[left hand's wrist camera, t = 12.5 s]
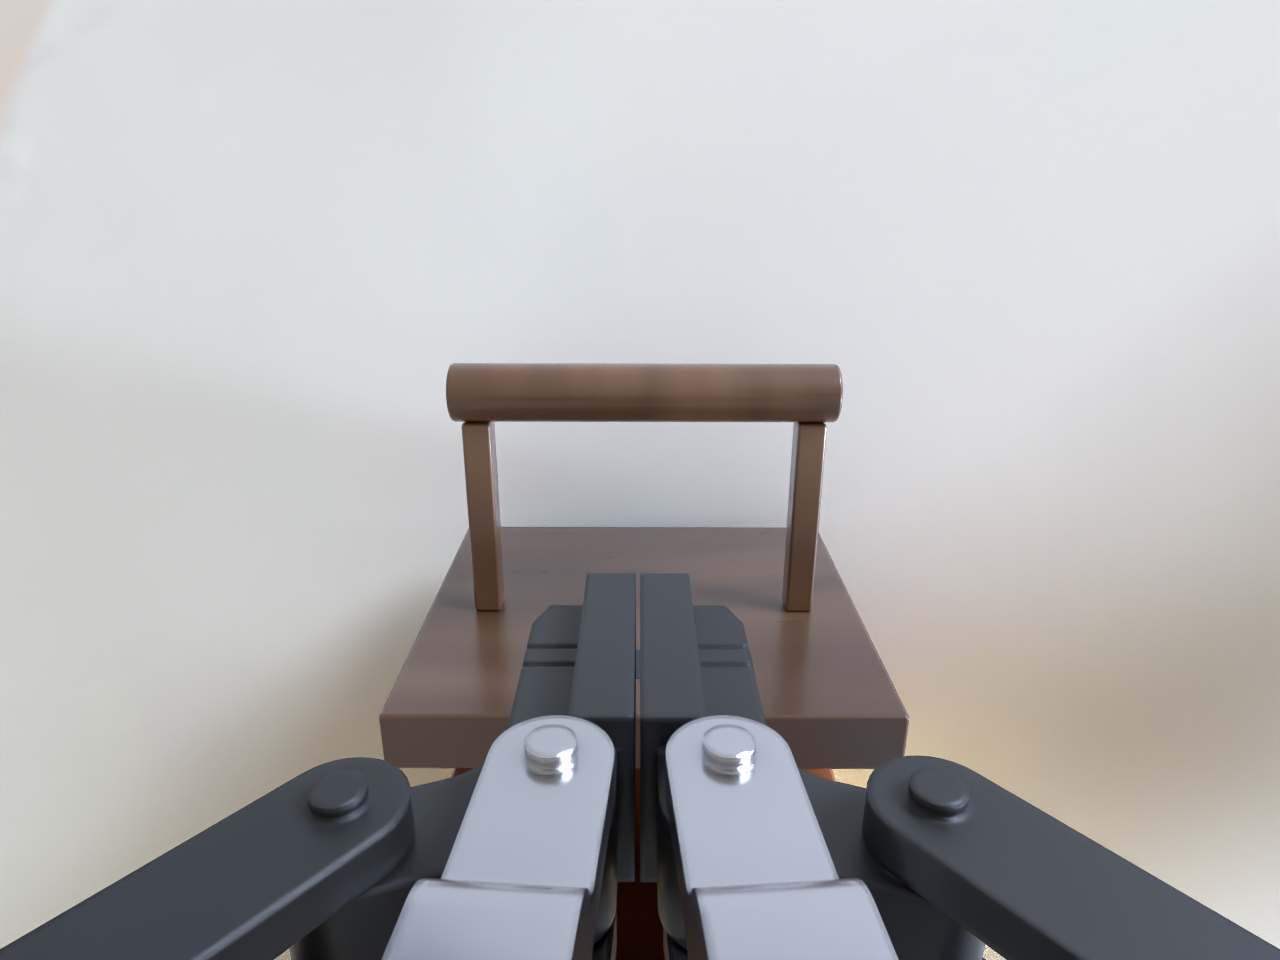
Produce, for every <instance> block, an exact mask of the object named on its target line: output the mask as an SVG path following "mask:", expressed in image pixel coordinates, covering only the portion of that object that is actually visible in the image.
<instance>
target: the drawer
mask: <svg viewBox="0 0 1280 960" xmlns="http://www.w3.org/2000/svg"><path fill="white" fill-rule="evenodd" d="M842 397H843V384H842V376H841V372H840V368H839V367H838V366H837V365H835V364H500V363H454V364H451V365H450V367H449V370H448V374H447V380H446V400H447V408H448V412H449V415H450V418H451V419H452V420H453V421H465V422H464V423H463V425H462V438H463V451H464V464H465V478H466V491H467V505H468V518H469V529H468V531H467V533H466V535H465V537H464V540H463V542H462V544H461V546H460V548H459V550H458V552H457V554H456V556H455V558H454V561H453V563H452V565H451V567H450V569H449V571H448V573H447V575H446V577H445V579H444V582H443V584H442V586H441V588H440V590H439V592H438V594H437V596H436V598H435V600H434V602H433V605H432V607H431V609H430V611H429V613H428V615H427V617H426V619H425V621H424V623H423V626H422V628H421V630H420V632H419V634H418V636H417V638H416V640H415V642H414V644H413V647H412V649H411V651H410V653H409V655H408V657H407V659H406V661H405V663H404V665H403V668H402V670H401V672H400V674H399V676H398V678H397V680H396V682H395V684H394V686H393V688H392V691H391V693H390V695H389V697H388V699H387V701H386V703H385V705H384V707H383V709H382V712H381V714H380V716H379V721H380V729H381V737H382V745H383V753H384V761H386V762H389V763H391V764H393V765H395V766H397V767H398V768H454V771H453V774H452V777H455V776H458V775H460V774H463V773H465V772H467V771H469V770H471V769H473V768H475V767H477V766H478V765H480V764H481V763H483V762H484V761H485V760H486V757H487V755H488V752H489V750H490V748H491V746H492V744H493V743H494V741H495V740H496V739H497V738H498V737H499V736H500V735H501V734H502V733H503V732H504V731H506V730H507V728H508V723H509V719H510V715H511V711H512V707H513V702H514V698H515V694H516V690H517V685H518V681H519V677H520V673H521V669H522V667H523V660H524V656H525V652H526V649H527V643H528V639H529V635H530V631H531V626H532V623H533V622H534V621H535V620H536V619H537V618H538V617H539V616H540V615H541V614H542V613H543V612H544V611H545V610H546V609H547V608H548V607H549V606H550V605H583V599H584V592H585V584H586V577H587V572H636V754H635V882H617V905H616V914H617V948H616V956H615V960H665V956H664V948H663V925H662V923H661V920H660V917H659V913H658V898H657V882H640V572H688V573H689V579H690V587H691V596H692V604H693V605H725V606H726V607H727V608H728V609H729V610H730V611H731V612H732V613H733V614H734V615H735V616H736V617H737V618H738V619H739V620H740V621H741V622H742V623H743V624H744V628H745V633H746V637H747V642H748V649H749V651H750V655H751V659H752V667H753V668H754V673H755V677H756V681H757V686H758V690H759V695H760V699H761V703H762V708H763V712H764V717H765V721H766V725H767V726H768V727H770V728H771V729H773V730H774V731H776V732H777V733H778V734H779V735H780V736H781V737H782V738H783V739H784V740H785V741H786V743H787V744H788V746H789V748H790V750H791V752H792V755H793V757H794V760H795V763H796V765H797V767H798V768H800V769H802V770H804V771H806V772H808V773H811V774H813V775H816V776H818V777H821V778H825V779H828V780H832V781H836V780H835V777H834V774H833V771H832V769H876V768H877V767H878V766H879V765H881V764H883V763H884V762H886V761H888V760H891V759H895V758H898V757H904V754H905V746H906V739H907V731H908V724H909V716H908V714H907V712H906V710H905V708H904V706H903V704H902V702H901V700H900V698H899V696H898V694H897V692H896V689H895V687H894V685H893V683H892V681H891V679H890V677H889V675H888V673H887V671H886V669H885V667H884V665H883V663H882V661H881V659H880V657H879V655H878V653H877V651H876V649H875V647H874V645H873V643H872V641H871V639H870V637H869V635H868V632H867V630H866V628H865V626H864V624H863V622H862V620H861V618H860V616H859V614H858V612H857V610H856V608H855V606H854V604H853V602H852V600H851V598H850V596H849V594H848V592H847V590H846V588H845V586H844V584H843V582H842V580H841V578H840V575H839V573H838V571H837V569H836V567H835V565H834V563H833V561H832V559H831V557H830V555H829V553H828V551H827V549H826V547H825V545H824V543H823V541H822V539H821V537H820V535H819V533H818V527H819V515H820V503H821V491H822V478H823V466H824V454H825V442H826V430H827V427H826V424H825V423H824V422H835V421H837V419H838V417H839V415H840V411H841V406H842ZM494 421H496V422H794V429H793V444H792V459H791V473H790V488H789V503H788V517H787V528H655V527H500V511H499V495H498V478H497V462H496V445H495V428H494ZM452 777H451V778H452Z"/></svg>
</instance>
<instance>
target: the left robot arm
mask: <svg viewBox="0 0 1280 960" xmlns="http://www.w3.org/2000/svg"><path fill="white" fill-rule="evenodd" d="M635 754H636V572H587V577H586V584H585V592H584V599H583V605H550V606H549V607H548V608H547V609H546V610H545V611H544V612H543V613H542V614H541V615H540V616H539V617H538V618H537V619H536V620H535V621H534V622H533V623H532V626H531V631H530V635H529V639H528V643H527V649H526V652H525V656H524V660H523V667H522V669H521V673H520V677H519V681H518V685H517V690H516V694H515V698H514V702H513V707H512V711H511V715H510V719H509V723H508V728H507V730H506V731H504V732H503V733H502V734H501V735H500V736H499V737H498V738H497V739H496V740H495V741H494V743H493V744H492V746H491V748H490V750H489V752H488V755H487V757H486V760H485V761H484V762H483V763H481V764H480V765H478V766H477V767H475V768H473V769H471V770H469V771H467V772H465V773H463V774H460V775H458V776H455V777H452V778H448V779H445V780H441V781H437V782H432V783H428V784H423V785H419V786H415V787H410V784H409V782H408V779H407V777H406V776H405V774H404V773H403V772H402V771H401V770H400V769H399V768H398V767H397V766H395V765H393V764H391V763H389V762H386V761H383V760H380V759H374V758H362V757H357V758H346V759H340V760H335V761H332V762H328V763H325V764H322V765H319V766H317V767H314V768H312V769H310V770H308V771H306V772H304V773H302V774H300V775H299V776H297V777H295V778H294V779H292V780H290V781H288V782H287V783H285V784H283V785H282V786H280V787H278V788H276V789H275V790H273V791H271V792H270V793H268V794H266V795H264V796H263V797H261V798H259V799H258V800H256V801H254V802H252V803H251V804H249V805H247V806H245V807H244V808H242V809H240V810H239V811H237V812H235V813H233V814H232V815H230V816H228V817H227V818H225V819H223V820H221V821H220V822H218V823H216V824H215V825H213V826H211V827H209V828H208V829H206V830H204V831H203V832H201V833H199V834H197V835H196V836H194V837H192V838H191V839H189V840H187V841H185V842H184V843H182V844H180V845H179V846H177V847H175V848H173V849H172V850H170V851H168V852H167V853H165V854H163V855H161V856H160V857H158V858H156V859H155V860H153V861H151V862H149V863H148V864H146V865H144V866H143V867H141V868H139V869H137V870H136V871H134V872H132V873H130V874H129V875H127V876H125V877H124V878H122V879H120V880H118V881H117V882H115V883H113V884H112V885H110V886H108V887H106V888H105V889H103V890H101V891H100V892H98V893H96V894H94V895H93V896H91V897H89V898H88V899H86V900H84V901H82V902H81V903H79V904H77V905H76V906H74V907H72V908H70V909H69V910H67V911H65V912H64V913H62V914H60V915H58V916H57V917H55V918H53V919H52V920H50V921H48V922H46V923H45V924H43V925H41V926H40V927H38V928H36V929H34V930H33V931H31V932H29V933H28V934H26V935H24V936H22V937H21V938H19V939H17V940H15V941H14V942H12V943H10V944H9V945H7V946H5V947H3V948H2V949H0V960H274V959H275V958H276V957H278V956H279V955H280V954H282V953H283V952H284V951H286V950H287V949H288V948H289V949H290V954H291V959H292V960H615V956H616V948H617V914H616V905H617V882H635ZM640 882H657V898H658V913H659V917H660V920H661V923H662V925H663V948H664V956H665V960H986V959H984V958H983V952H984V947H985V944H986V945H988V946H989V947H990V948H992V949H993V950H994V951H996V952H997V953H998V954H1000V955H1001V956H1002V957H1004V958H1005V959H1006V960H1280V949H1278V948H1276V947H1275V946H1273V945H1271V944H1270V943H1268V942H1266V941H1264V940H1263V939H1261V938H1259V937H1258V936H1256V935H1254V934H1252V933H1251V932H1249V931H1247V930H1246V929H1244V928H1242V927H1240V926H1239V925H1237V924H1235V923H1234V922H1232V921H1230V920H1228V919H1227V918H1225V917H1223V916H1222V915H1220V914H1218V913H1216V912H1215V911H1213V910H1211V909H1210V908H1208V907H1206V906H1204V905H1203V904H1201V903H1199V902H1198V901H1196V900H1194V899H1192V898H1191V897H1189V896H1187V895H1186V894H1184V893H1182V892H1180V891H1179V890H1177V889H1175V888H1174V887H1172V886H1170V885H1168V884H1167V883H1165V882H1163V881H1161V880H1160V879H1158V878H1156V877H1155V876H1153V875H1151V874H1149V873H1148V872H1146V871H1144V870H1143V869H1141V868H1139V867H1137V866H1136V865H1134V864H1132V863H1131V862H1129V861H1127V860H1125V859H1124V858H1122V857H1120V856H1119V855H1117V854H1115V853H1113V852H1112V851H1110V850H1108V849H1107V848H1105V847H1103V846H1101V845H1100V844H1098V843H1096V842H1095V841H1093V840H1091V839H1089V838H1088V837H1086V836H1084V835H1083V834H1081V833H1079V832H1077V831H1076V830H1074V829H1072V828H1071V827H1069V826H1067V825H1065V824H1064V823H1062V822H1060V821H1059V820H1057V819H1055V818H1053V817H1052V816H1050V815H1048V814H1046V813H1045V812H1043V811H1041V810H1040V809H1038V808H1036V807H1034V806H1033V805H1031V804H1029V803H1028V802H1026V801H1024V800H1022V799H1021V798H1019V797H1017V796H1016V795H1014V794H1012V793H1010V792H1009V791H1007V790H1005V789H1004V788H1002V787H1000V786H998V785H997V784H995V783H993V782H992V781H990V780H988V779H986V778H985V777H983V776H981V775H980V774H978V773H976V772H974V771H972V770H970V769H968V768H967V767H965V766H962V765H960V764H957V763H955V762H952V761H948V760H945V759H941V758H935V757H930V756H904V757H898V758H895V759H891V760H888V761H886V762H884V763H883V764H881V765H879V766H878V767H877V768H876V769H875V770H874V771H873V772H872V774H871V775H870V777H869V780H868V782H867V789H866V788H862V787H858V786H853V785H849V784H845V783H840V782H836V781H832V780H828V779H825V778H821V777H818V776H816V775H813V774H811V773H808V772H806V771H804V770H802V769H800V768H798V767H797V765H796V763H795V760H794V757H793V755H792V752H791V750H790V748H789V746H788V744H787V743H786V741H785V740H784V739H783V738H782V737H781V736H780V735H779V734H778V733H777V732H776V731H774V730H773V729H771V728H770V727H768V726H767V725H766V721H765V717H764V712H763V708H762V703H761V699H760V695H759V690H758V686H757V681H756V677H755V673H754V668H753V667H752V659H751V655H750V651H749V649H748V642H747V637H746V633H745V628H744V624H743V623H742V622H741V621H740V620H739V619H738V618H737V617H736V616H735V615H734V614H733V613H732V612H731V611H730V610H729V609H728V608H727V607H726V606H725V605H693V604H692V596H691V587H690V579H689V573H688V572H640Z"/></svg>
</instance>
